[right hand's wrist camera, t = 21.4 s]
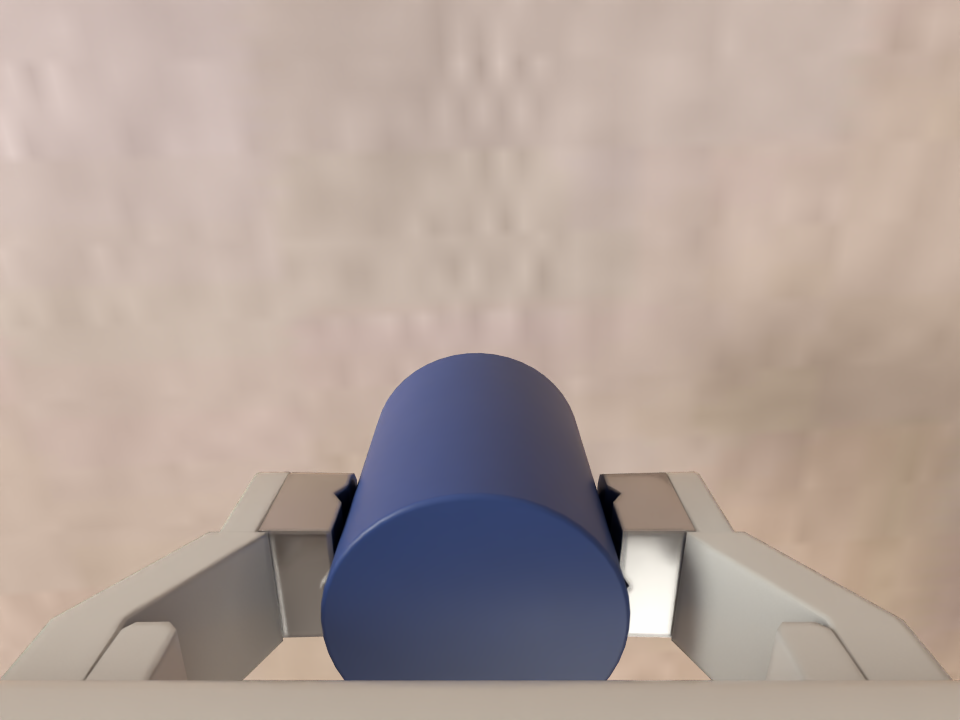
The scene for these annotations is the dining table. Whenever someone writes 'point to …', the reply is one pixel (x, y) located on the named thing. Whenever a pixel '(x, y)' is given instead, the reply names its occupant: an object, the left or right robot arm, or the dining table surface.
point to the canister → (476, 538)
